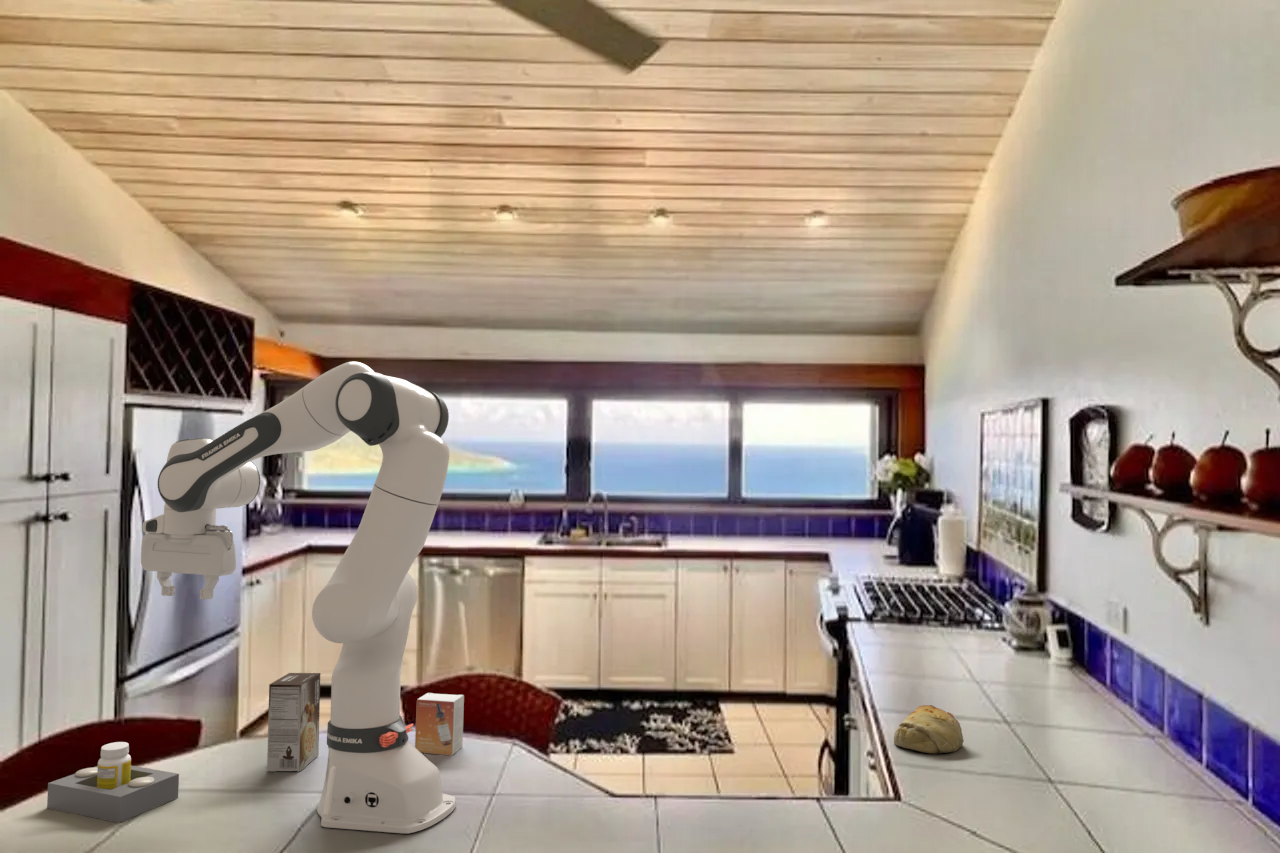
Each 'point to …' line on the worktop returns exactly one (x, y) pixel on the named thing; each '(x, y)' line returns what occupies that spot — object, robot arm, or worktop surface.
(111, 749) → the supplement bottle
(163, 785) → the housing
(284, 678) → the coffee box
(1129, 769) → the worktop surface
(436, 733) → the small box
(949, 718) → the pastry
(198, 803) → the worktop surface
